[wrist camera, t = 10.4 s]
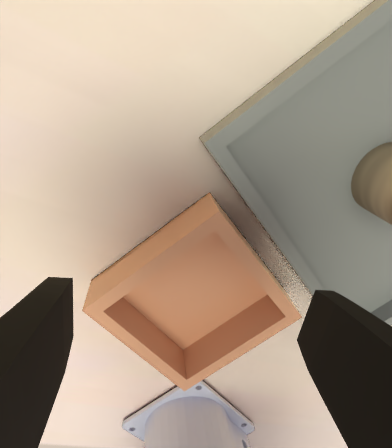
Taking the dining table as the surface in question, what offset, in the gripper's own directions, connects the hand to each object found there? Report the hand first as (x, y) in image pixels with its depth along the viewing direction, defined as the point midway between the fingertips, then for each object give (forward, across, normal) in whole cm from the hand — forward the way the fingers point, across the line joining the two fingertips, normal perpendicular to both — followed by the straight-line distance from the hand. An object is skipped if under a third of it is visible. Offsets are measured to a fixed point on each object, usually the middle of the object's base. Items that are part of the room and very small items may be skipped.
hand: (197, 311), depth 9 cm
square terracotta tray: (+10, -2, +6) cm, 12 cm away
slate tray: (+10, -13, -1) cm, 16 cm away
